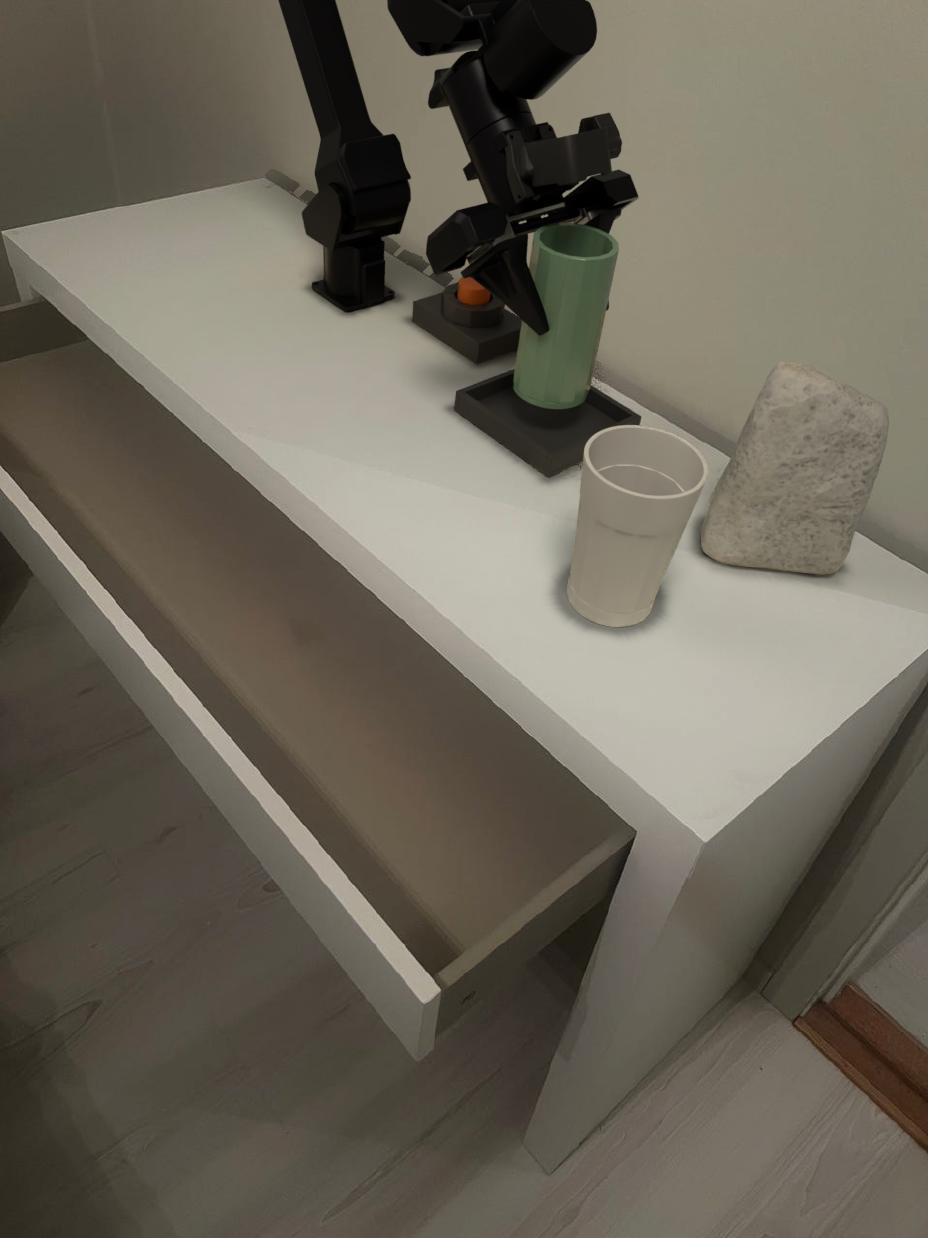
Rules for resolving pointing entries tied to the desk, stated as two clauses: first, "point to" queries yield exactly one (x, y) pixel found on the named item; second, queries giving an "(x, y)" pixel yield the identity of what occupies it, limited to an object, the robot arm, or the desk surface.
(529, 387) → the canister
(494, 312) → the push button box
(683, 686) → the desk surface
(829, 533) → the decorative stone
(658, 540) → the cup
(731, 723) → the desk surface
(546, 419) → the drip tray
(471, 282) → the button
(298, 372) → the desk surface
